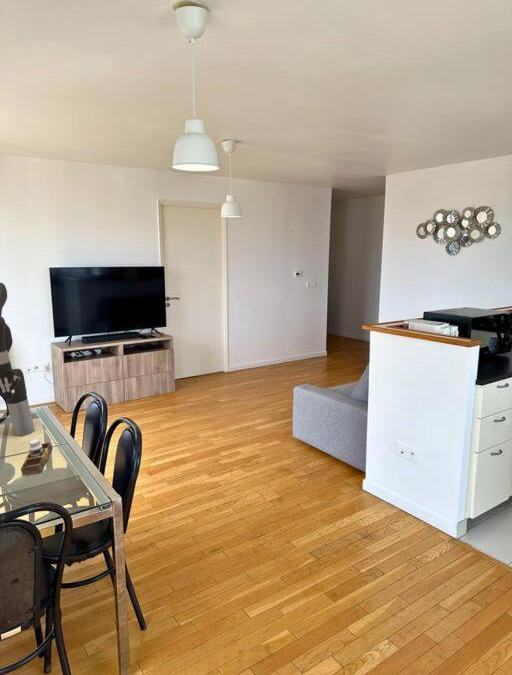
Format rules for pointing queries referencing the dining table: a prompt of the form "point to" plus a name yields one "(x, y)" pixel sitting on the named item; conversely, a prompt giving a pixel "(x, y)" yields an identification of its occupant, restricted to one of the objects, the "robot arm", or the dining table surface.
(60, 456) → the dining table surface
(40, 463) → the rack
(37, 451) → the pill bottle
